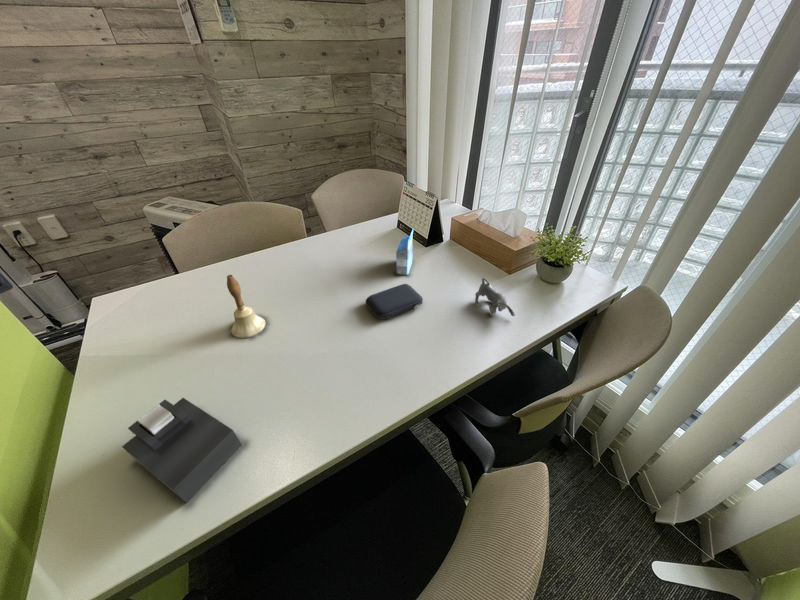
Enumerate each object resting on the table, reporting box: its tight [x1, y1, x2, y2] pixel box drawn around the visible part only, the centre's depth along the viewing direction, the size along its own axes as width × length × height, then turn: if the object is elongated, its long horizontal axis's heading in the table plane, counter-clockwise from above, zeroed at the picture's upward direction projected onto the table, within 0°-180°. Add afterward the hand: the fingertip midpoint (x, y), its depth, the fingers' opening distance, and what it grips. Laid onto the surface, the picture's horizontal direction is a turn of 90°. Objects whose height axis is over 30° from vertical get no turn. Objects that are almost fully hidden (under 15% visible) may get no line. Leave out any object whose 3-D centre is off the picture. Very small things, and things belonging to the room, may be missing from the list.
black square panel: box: [121, 397, 243, 504], centre depth 57 cm, size 15×11×7 cm
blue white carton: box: [395, 229, 414, 276], centre depth 103 cm, size 9×4×12 cm, turn 169°
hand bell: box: [226, 274, 266, 339], centre depth 80 cm, size 8×8×16 cm
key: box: [137, 404, 175, 435], centre depth 56 cm, size 4×4×2 cm
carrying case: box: [365, 283, 424, 320], centre depth 90 cm, size 11×3×15 cm
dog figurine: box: [474, 277, 516, 317], centre depth 88 cm, size 12×6×7 cm, turn 27°
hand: (2, 290), depth 44 cm, fingers closed
